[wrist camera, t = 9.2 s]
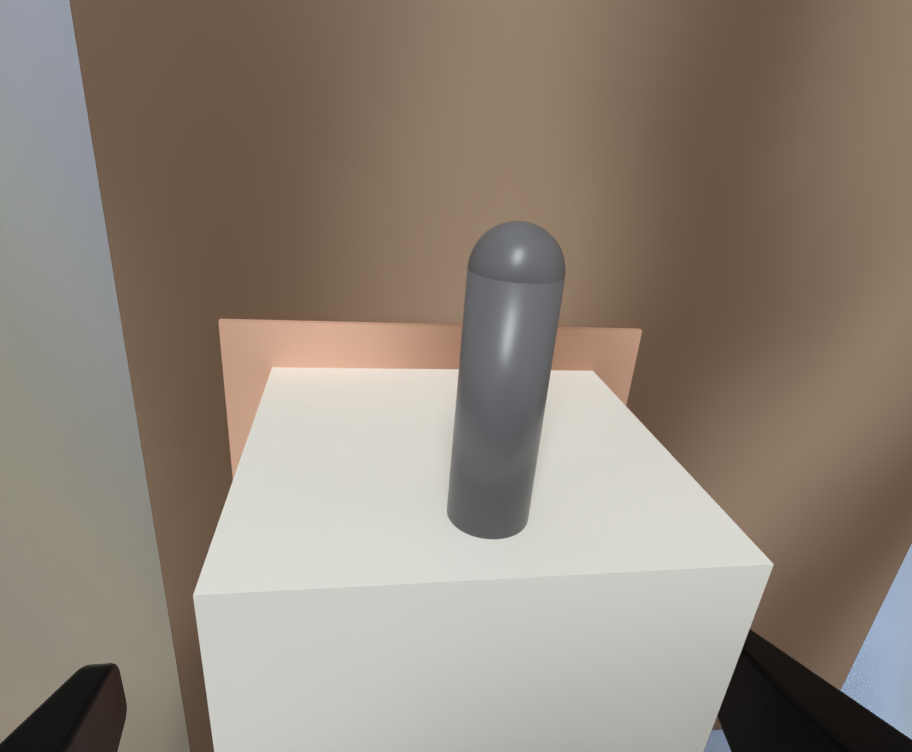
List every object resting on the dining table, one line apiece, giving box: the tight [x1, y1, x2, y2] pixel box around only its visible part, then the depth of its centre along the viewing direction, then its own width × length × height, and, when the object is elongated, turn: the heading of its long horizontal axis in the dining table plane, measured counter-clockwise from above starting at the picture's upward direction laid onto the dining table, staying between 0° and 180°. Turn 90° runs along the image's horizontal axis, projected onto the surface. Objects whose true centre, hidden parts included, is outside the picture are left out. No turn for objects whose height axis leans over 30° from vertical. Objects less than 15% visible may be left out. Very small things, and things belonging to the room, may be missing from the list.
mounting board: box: [70, 0, 912, 752], centre depth 9 cm, size 15×18×3 cm
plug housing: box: [193, 221, 774, 752], centre depth 8 cm, size 5×11×4 cm, turn 176°
